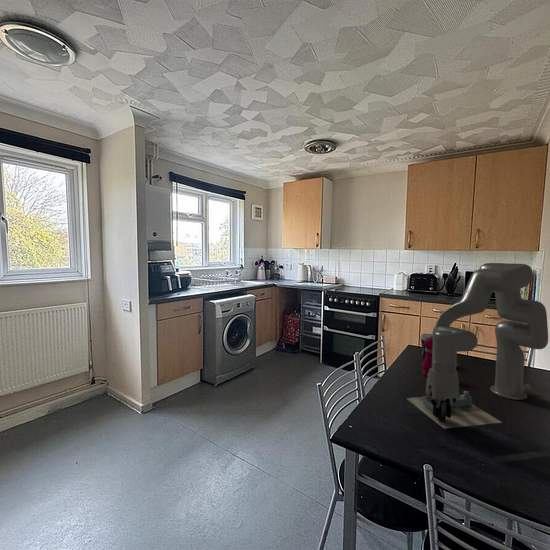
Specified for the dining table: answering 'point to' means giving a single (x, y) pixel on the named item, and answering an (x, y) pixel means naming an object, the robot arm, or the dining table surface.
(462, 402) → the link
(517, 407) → the dining table surface
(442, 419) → the pin
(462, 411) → the board
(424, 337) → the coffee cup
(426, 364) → the pepper mill
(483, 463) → the dining table surface
